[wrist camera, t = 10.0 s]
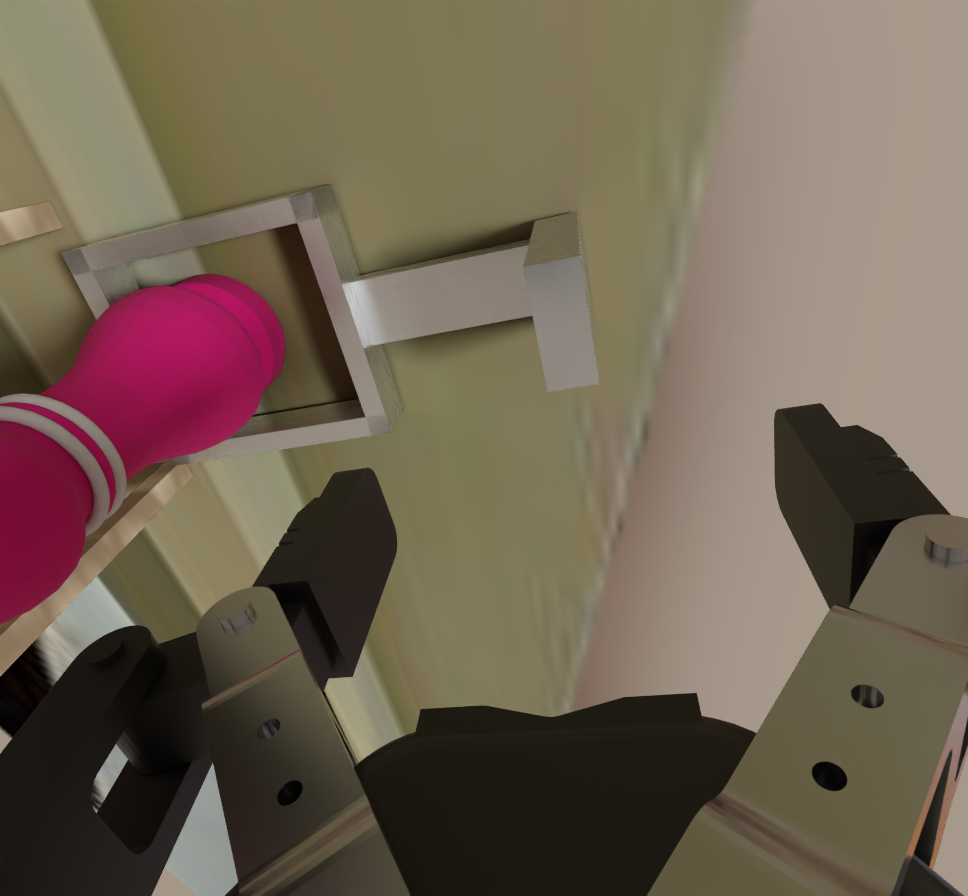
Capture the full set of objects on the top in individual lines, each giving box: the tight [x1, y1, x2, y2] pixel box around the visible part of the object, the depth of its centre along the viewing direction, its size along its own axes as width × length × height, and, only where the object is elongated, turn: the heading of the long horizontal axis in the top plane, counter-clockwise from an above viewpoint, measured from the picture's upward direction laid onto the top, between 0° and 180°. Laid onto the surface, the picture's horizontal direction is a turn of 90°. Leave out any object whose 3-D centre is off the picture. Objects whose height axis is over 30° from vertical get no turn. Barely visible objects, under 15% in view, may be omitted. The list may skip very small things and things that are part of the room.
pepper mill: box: [0, 274, 285, 624], centre depth 23 cm, size 7×7×20 cm
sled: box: [61, 184, 599, 466], centre depth 26 cm, size 11×22×8 cm, turn 103°
